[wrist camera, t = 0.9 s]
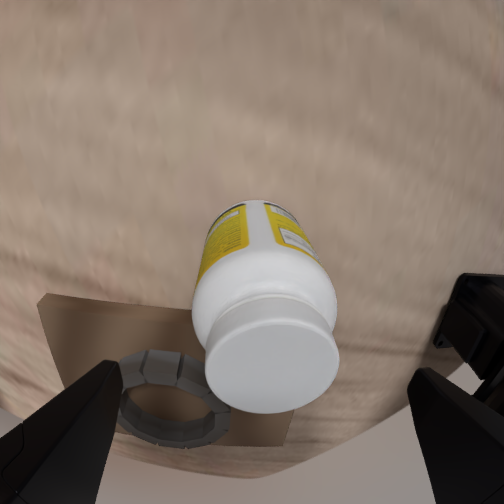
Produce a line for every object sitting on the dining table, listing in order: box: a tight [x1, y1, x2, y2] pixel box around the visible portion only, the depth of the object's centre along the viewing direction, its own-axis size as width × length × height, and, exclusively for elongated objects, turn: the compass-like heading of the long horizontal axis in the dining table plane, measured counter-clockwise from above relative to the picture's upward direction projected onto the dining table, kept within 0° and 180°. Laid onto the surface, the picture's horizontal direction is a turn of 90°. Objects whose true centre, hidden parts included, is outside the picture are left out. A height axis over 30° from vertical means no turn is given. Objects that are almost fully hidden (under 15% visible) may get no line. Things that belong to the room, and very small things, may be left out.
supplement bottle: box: [192, 200, 339, 414], centre depth 13 cm, size 5×5×10 cm
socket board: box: [37, 293, 294, 449], centre depth 20 cm, size 18×13×4 cm
